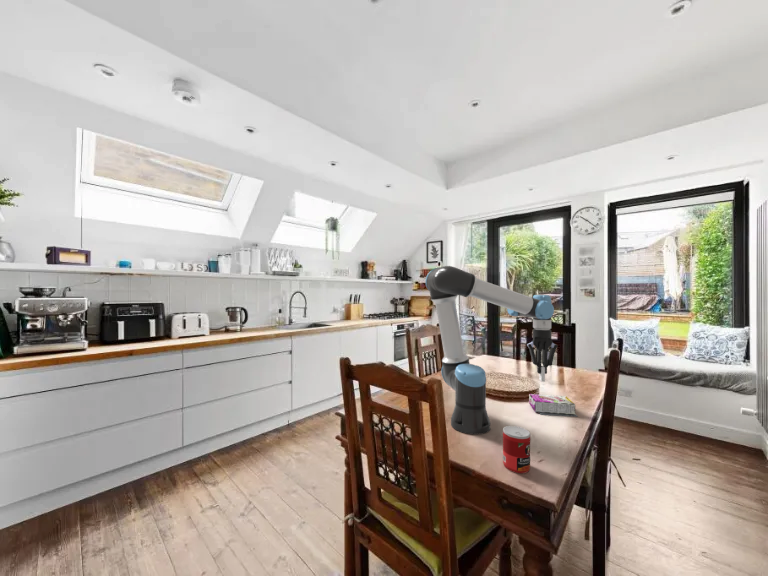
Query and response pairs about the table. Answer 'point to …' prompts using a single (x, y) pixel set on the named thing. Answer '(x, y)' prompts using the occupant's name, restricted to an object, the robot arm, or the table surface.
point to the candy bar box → (551, 404)
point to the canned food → (516, 449)
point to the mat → (557, 414)
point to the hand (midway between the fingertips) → (542, 380)
